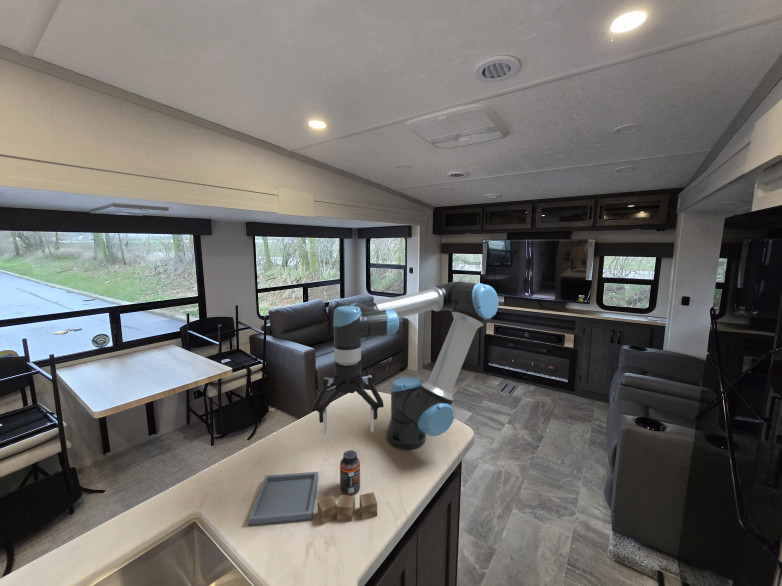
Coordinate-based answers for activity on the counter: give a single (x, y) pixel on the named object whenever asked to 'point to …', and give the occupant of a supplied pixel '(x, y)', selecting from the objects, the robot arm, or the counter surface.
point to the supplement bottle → (350, 473)
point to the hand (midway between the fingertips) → (348, 430)
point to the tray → (285, 499)
